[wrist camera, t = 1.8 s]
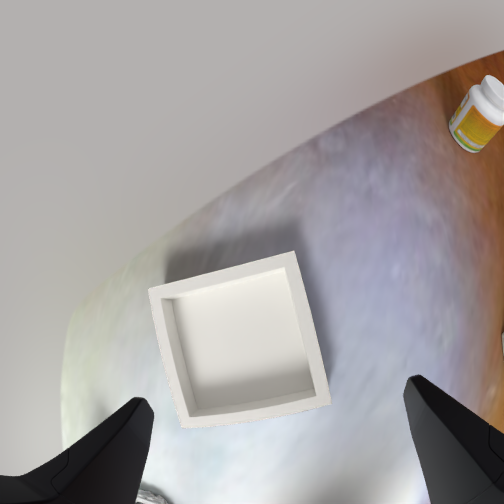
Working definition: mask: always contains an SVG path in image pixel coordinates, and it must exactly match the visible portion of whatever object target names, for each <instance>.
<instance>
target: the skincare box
mask: <svg viewBox="0 0 504 504" xmlns="http://www.w3.org/2000/svg"><path fill="white" fill-rule="evenodd" d="M502 343H503V354H504V332H503V333H502Z"/></svg>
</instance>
